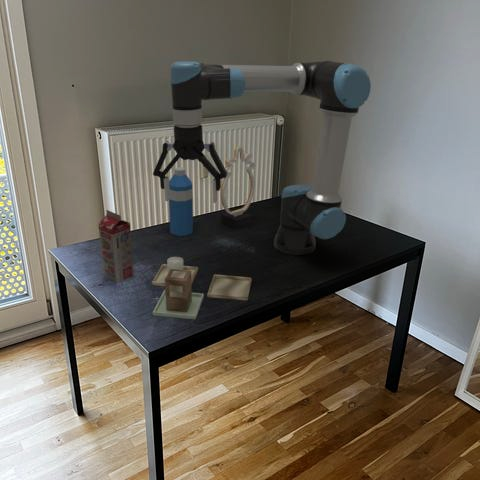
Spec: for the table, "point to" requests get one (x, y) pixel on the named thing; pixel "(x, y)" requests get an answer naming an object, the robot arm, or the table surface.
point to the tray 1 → (163, 273)
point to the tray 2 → (191, 314)
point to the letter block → (178, 290)
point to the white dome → (175, 263)
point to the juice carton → (116, 247)
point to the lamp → (239, 216)
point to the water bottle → (180, 203)
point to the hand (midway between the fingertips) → (191, 200)
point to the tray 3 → (229, 287)
